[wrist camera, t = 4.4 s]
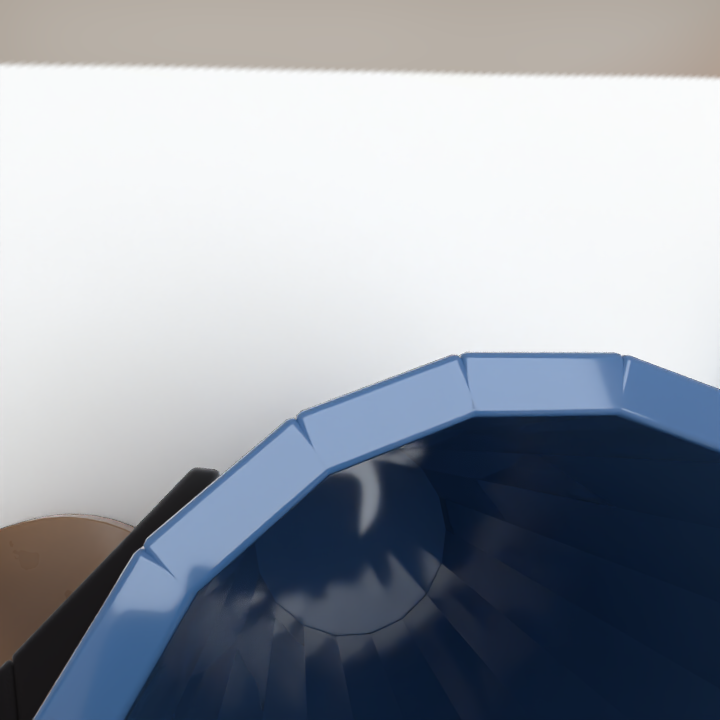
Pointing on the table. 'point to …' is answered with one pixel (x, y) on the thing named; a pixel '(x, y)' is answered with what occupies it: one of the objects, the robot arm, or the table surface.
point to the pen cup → (436, 559)
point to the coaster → (47, 568)
